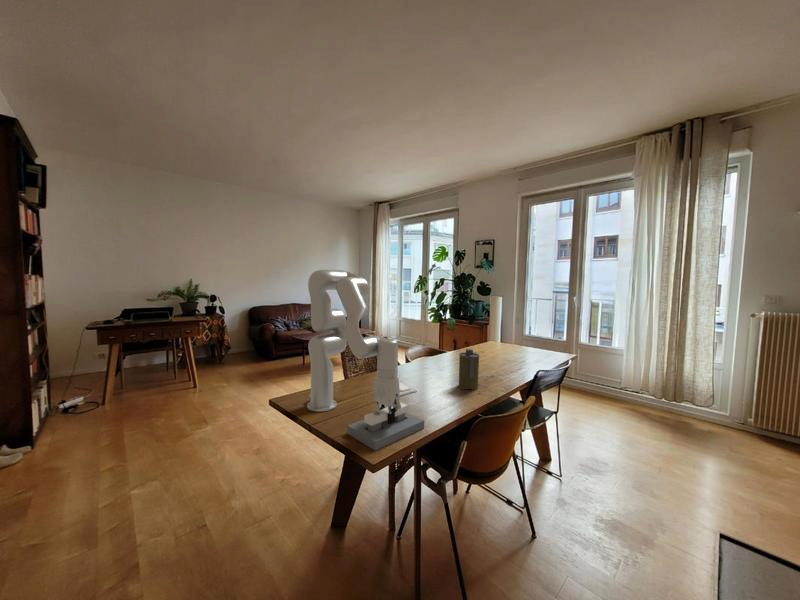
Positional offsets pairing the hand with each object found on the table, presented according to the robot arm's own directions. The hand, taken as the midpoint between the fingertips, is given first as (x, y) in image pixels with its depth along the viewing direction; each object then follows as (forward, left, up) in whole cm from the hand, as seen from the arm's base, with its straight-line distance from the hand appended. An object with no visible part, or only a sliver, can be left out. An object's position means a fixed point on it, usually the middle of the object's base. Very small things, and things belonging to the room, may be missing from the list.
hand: (386, 420), depth 120 cm
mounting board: (0, 0, -4) cm, 4 cm away
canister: (-8, +65, -4) cm, 66 cm away
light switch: (-28, +34, -5) cm, 44 cm away
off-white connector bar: (0, 0, -2) cm, 2 cm away
